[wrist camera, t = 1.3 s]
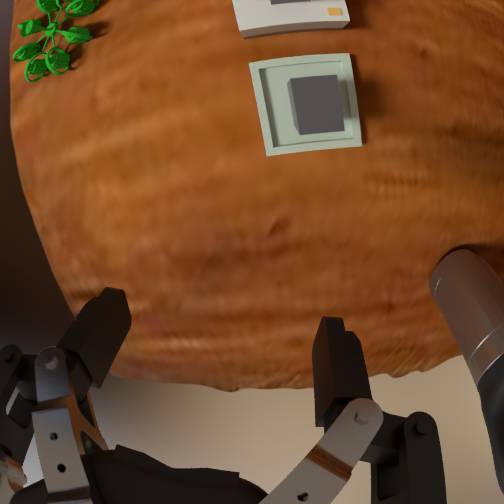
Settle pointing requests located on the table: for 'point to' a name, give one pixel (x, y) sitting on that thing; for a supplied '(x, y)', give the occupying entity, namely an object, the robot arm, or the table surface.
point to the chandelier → (80, 6)
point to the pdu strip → (289, 16)
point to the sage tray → (279, 109)
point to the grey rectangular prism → (316, 104)
